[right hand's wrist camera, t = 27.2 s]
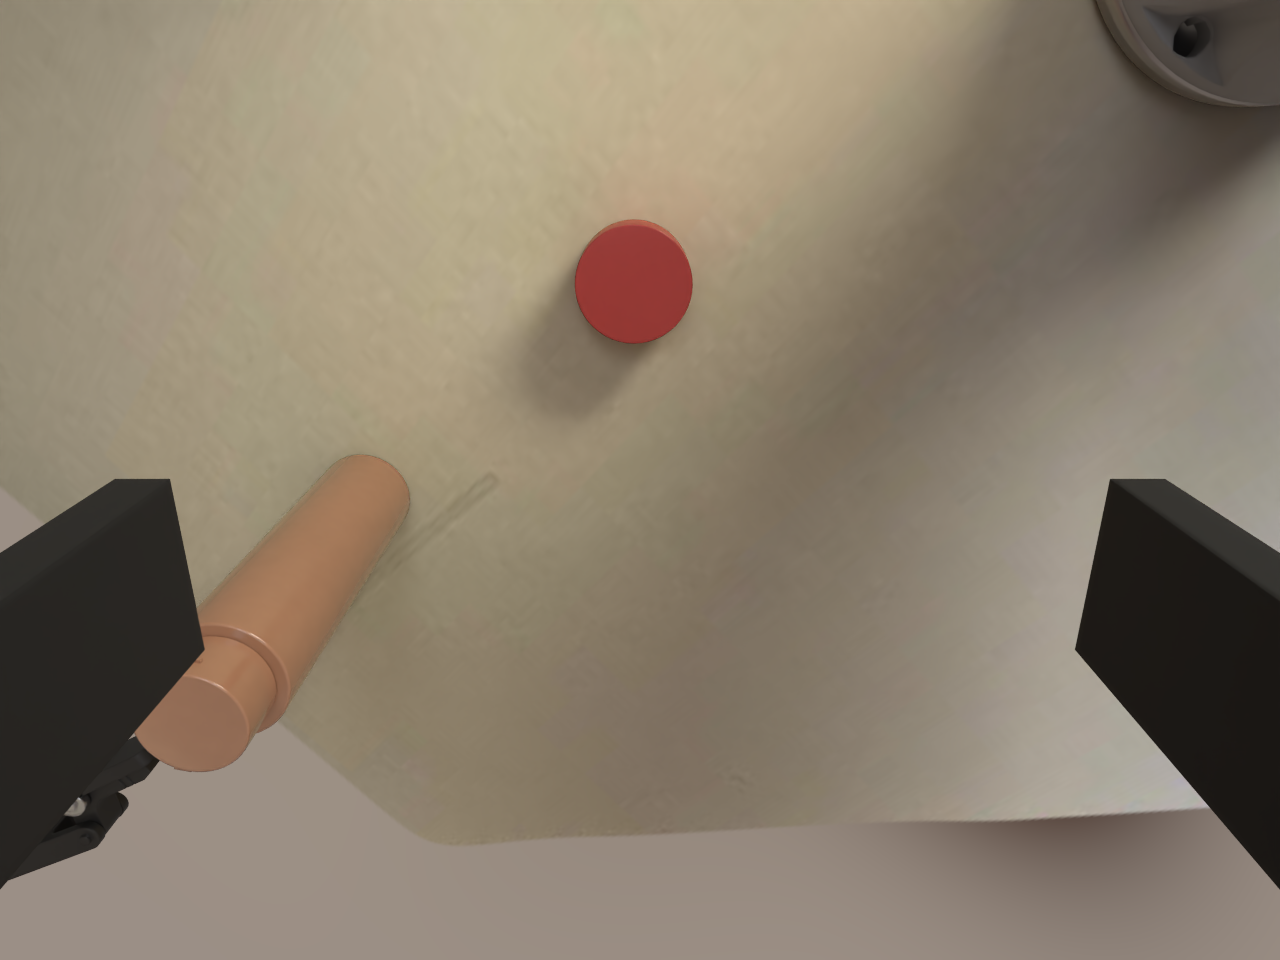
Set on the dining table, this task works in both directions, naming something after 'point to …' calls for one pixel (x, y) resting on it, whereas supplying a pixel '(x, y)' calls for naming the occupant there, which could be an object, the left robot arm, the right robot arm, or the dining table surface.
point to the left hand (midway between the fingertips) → (95, 671)
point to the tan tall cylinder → (277, 615)
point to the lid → (633, 281)
